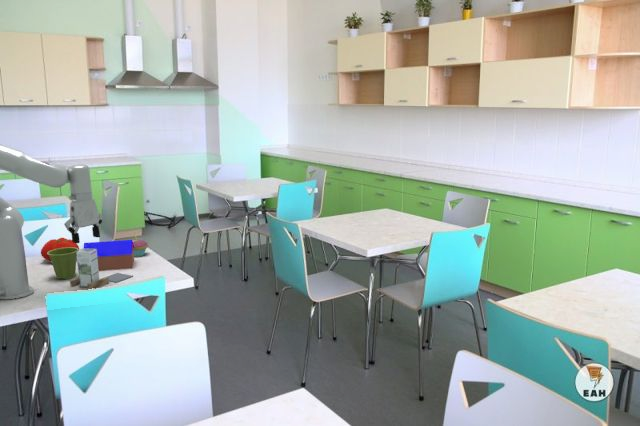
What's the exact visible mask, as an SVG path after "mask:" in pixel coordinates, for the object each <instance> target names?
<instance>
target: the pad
mask: <svg viewBox="0 0 640 426" xmlns="http://www.w3.org/2000/svg"><path fill="white" fill-rule="evenodd" d="M106 277H108V278H109V283H114V284H117V283H120V282H122V281H125V280H128V279H131V278H134V275H131V274H126V273H120V272H115V273H113V274H110V275H108V276H104V277H102V278H99V279H100V280H101V279H103V278H106Z"/></svg>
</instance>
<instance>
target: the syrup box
mask: <svg viewBox="0 0 640 426" xmlns="http://www.w3.org/2000/svg"><path fill="white" fill-rule="evenodd" d="M76 254H77V256H76V264H77V271H78V272H77V274H78V278H79V282H80V284H79V287H80V288H88V285H87V284H89V283H92V282H95V281H98V280H100V279H101V278H100V273H99V270H98V259H97V249H84V248H81V249H79V251H78V252H76Z"/></svg>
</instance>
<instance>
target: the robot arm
mask: <svg viewBox="0 0 640 426" xmlns="http://www.w3.org/2000/svg"><path fill="white" fill-rule="evenodd" d="M0 170H1V171H2V170H3V171H5V172H9V173H11V174H14V175H16V176H18V177H22V178H25V179H26V180H29V181H33V182H35V183H38V184H41V185H44V186H47V187H50V188H55V189H56V188H59V189H60V188H62V187H63V186H65V185H66V184H69V190H70V196H68V199H69V200H70V204H69V205H70V206H69V219H68V220H66V221H65V222H64V227H65V228H66V230H67V231H68V232H69V233H70V234H71V240H72V241H73V243H77V244H80V242H81V241H80V235H79V230H80V229H81V228H86V227H90V226H92V237H94V238H100V237H101V234H100V227H101V225H102V222H103V219H104V215H103V214H101V213H99V210H98V205H97V202H96V200H95V198H93V191H92V189H93V188H92V182H91V181H92V180H91V172H90V171H91V169H90V167H89V165H87V164H73V165H62V164H61V165H60V164H59V165H58V164H57V165H50V164H47V163H46V162H45V163H44V162H41V161H40V160H36V159H34V158H33V157H31V156H29V155H28V154H27V153H25V152H23V151H22V150H19V149H15V148H12V147H9V146H7V145H3V144H0ZM24 220H25V219H24V216H23V214H22V213H21V212H20V211H19V210H18V209H17V208H15V207H14V206H13V205H12V204H11V203H9V202H8V201H6V200H5V199H4V198H2V197H1V196H0V300H16V299H21V298H24V297H28V296H30V295H32V294H33V293H34V291H35V289H34V287H33V286H30V285H29V275H28V268H27V267H28V266H27V259H26V253H25V252H26V250H25V244H24V237H23V232H22V229H23V226H24V223H25V221H24ZM20 297H21V298H20ZM15 298H16V299H15Z"/></svg>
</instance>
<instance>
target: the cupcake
mask: <svg viewBox="0 0 640 426" xmlns="http://www.w3.org/2000/svg"><path fill="white" fill-rule="evenodd" d="M133 236H134V239H135V240H132V241H133V245H134V247H133V249H134V257H143V256H145V254H146V250H147V248H148V247H149V243H148V242H147V241H145V240H141V239H140V240H138V238H137V235H136V231H135V230H133Z"/></svg>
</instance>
